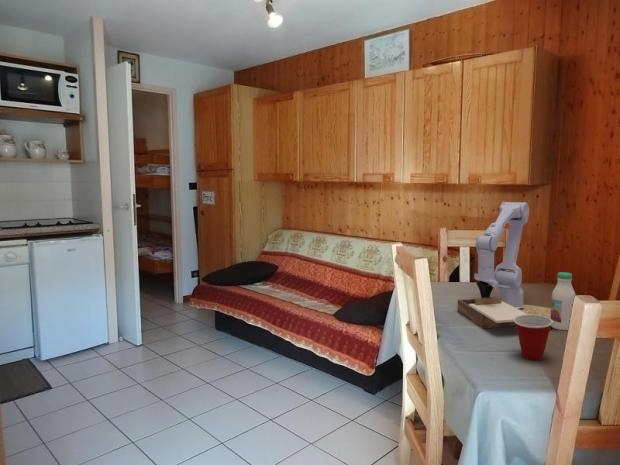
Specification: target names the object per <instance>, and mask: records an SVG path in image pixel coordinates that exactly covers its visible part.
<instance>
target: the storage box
mask: <svg viewBox="0 0 620 465" xmlns="http://www.w3.org/2000/svg"><path fill="white" fill-rule="evenodd" d="M469 304H475V298H466V299H465V298H464V299H457V312H458V313H459V314H460V315H462V317H465V318H466V319H468V320H469V321H471V322H472V323H474V324H475V325H477V326H478V327H480V328H482V329H490V328H491V329H493V328H503V327H504V328H505V327H517V326H516V324H515V322H502V323H496V322H495V321H493V320H491V319H490V318H488V317H486V316H485V315H483V314H481V313H480V312H478V311H476V310H475V309H473V308H471V307H470V306H469Z"/></svg>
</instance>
